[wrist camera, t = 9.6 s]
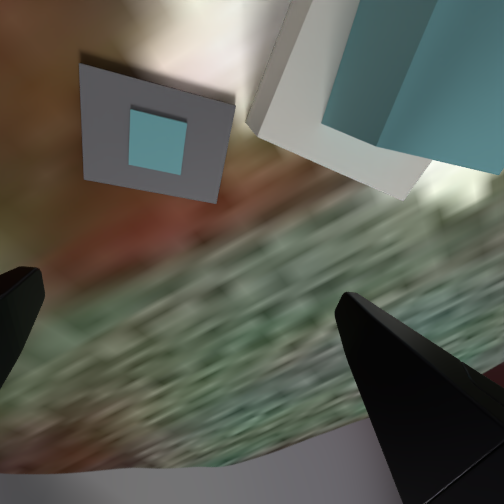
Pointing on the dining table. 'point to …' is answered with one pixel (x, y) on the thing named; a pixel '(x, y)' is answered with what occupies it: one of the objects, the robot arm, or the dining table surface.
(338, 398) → the dining table surface
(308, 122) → the white block
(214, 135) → the card
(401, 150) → the teal block
